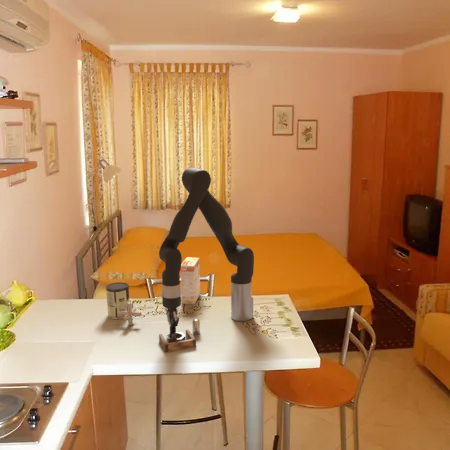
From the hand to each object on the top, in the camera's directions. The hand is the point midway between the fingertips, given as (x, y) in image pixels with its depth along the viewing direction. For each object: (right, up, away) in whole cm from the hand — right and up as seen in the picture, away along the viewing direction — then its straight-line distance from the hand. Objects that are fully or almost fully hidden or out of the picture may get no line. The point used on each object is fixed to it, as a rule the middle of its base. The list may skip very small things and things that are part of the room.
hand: (172, 334), depth 196 cm
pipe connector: (-20, +1, +14) cm, 25 cm away
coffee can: (-28, +3, +25) cm, 38 cm away
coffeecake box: (+4, +8, +44) cm, 45 cm away
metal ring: (+2, -3, -4) cm, 5 cm away
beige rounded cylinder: (+9, -1, +4) cm, 10 cm away
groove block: (+2, -3, -5) cm, 6 cm away
